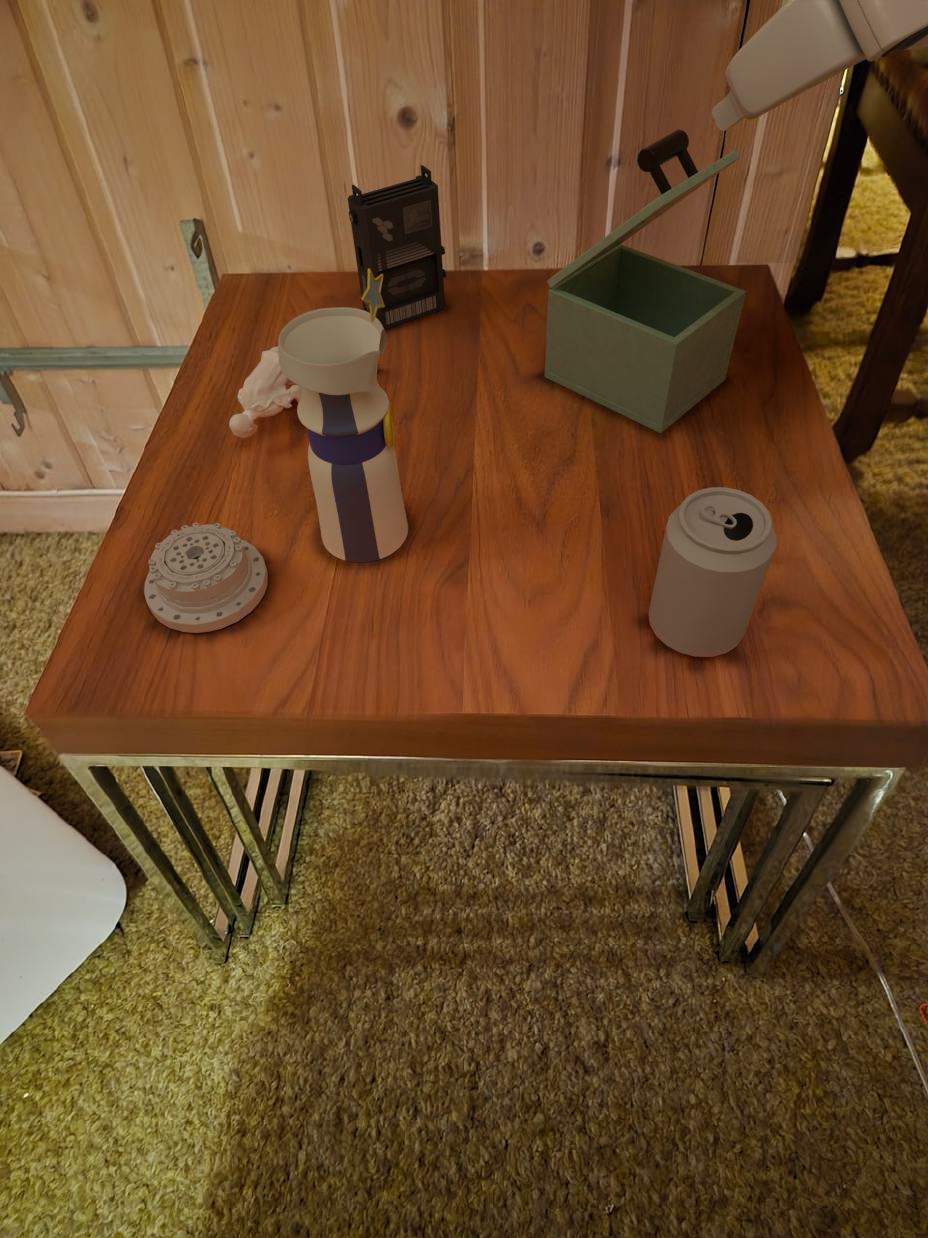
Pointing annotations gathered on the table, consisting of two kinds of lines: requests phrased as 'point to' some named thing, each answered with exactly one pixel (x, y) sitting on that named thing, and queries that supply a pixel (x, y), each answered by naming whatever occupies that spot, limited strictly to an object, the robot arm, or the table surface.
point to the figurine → (263, 394)
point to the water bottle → (347, 426)
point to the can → (711, 571)
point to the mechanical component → (204, 578)
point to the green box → (641, 335)
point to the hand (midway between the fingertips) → (757, 100)
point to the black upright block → (400, 247)
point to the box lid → (651, 162)
